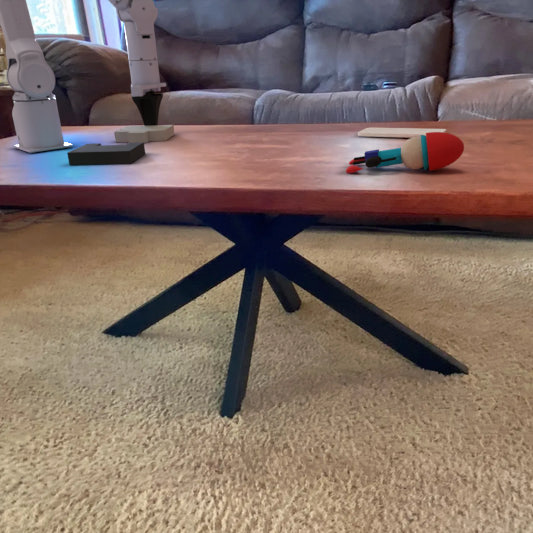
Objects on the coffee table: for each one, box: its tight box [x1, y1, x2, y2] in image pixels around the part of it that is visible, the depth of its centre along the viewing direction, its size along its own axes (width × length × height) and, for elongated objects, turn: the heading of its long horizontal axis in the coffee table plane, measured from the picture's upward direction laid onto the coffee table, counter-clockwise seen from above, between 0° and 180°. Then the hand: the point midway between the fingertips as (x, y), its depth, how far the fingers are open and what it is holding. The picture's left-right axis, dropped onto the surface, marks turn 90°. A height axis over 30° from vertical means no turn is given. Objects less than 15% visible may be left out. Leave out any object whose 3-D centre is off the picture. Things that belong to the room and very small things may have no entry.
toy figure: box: [345, 132, 465, 174], centre depth 68 cm, size 8×5×15 cm
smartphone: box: [357, 127, 447, 138], centre depth 95 cm, size 7×1×15 cm
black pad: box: [66, 142, 146, 166], centre depth 83 cm, size 8×10×2 cm
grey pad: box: [113, 124, 175, 144], centre depth 102 cm, size 10×10×2 cm
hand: (151, 129), depth 108 cm, fingers closed
